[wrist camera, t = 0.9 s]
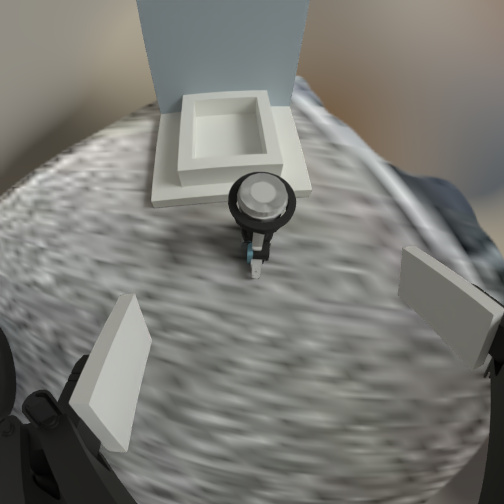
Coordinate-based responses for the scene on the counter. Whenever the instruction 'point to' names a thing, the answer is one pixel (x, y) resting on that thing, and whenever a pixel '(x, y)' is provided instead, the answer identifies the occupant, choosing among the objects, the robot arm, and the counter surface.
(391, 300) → the counter surface
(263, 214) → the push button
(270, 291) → the counter surface
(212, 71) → the holder
